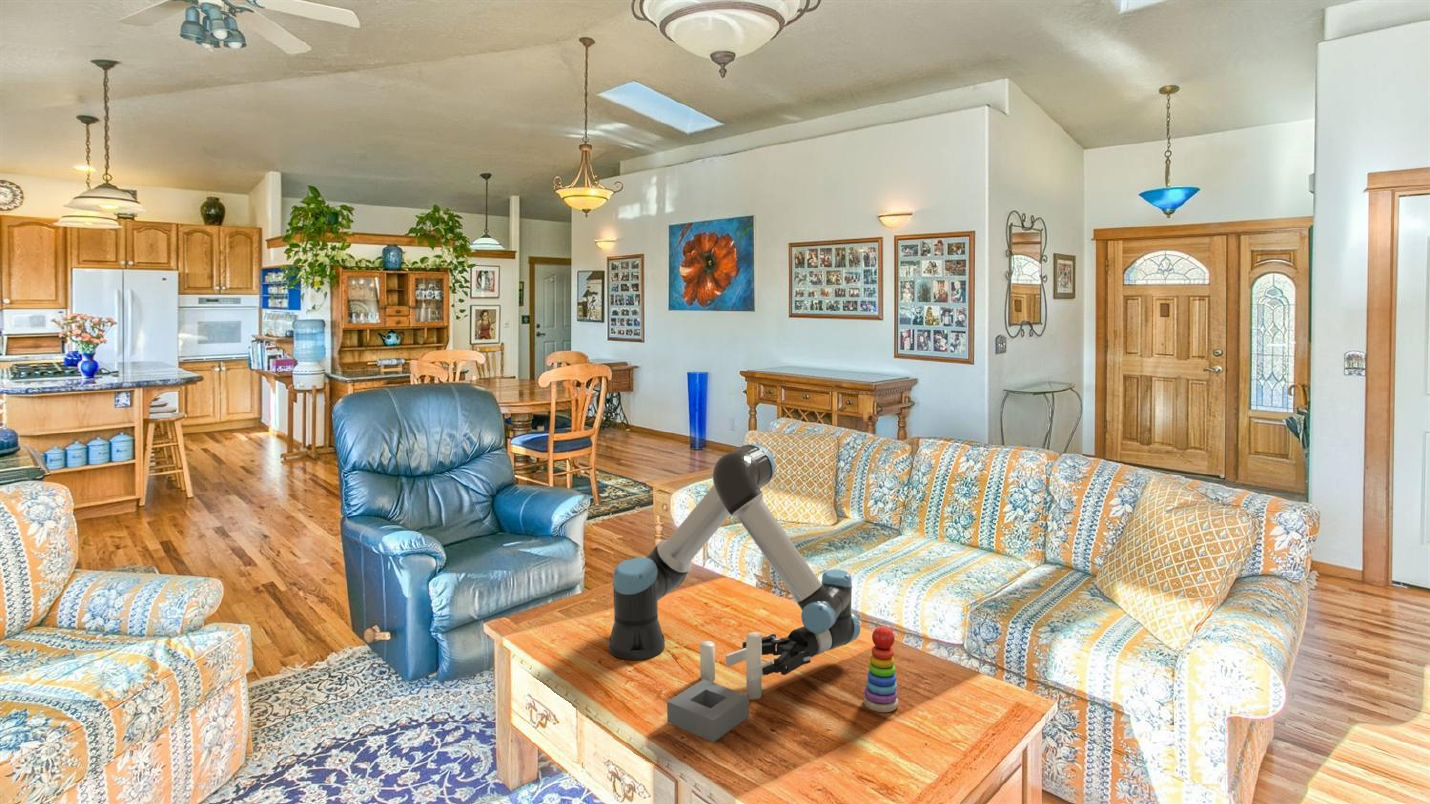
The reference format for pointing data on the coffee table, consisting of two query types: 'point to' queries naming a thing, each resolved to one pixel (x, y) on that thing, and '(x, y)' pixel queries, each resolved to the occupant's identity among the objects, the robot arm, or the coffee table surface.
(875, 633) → the stacking toy
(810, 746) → the coffee table surface
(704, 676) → the short pin
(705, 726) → the hole block
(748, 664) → the tall pin
